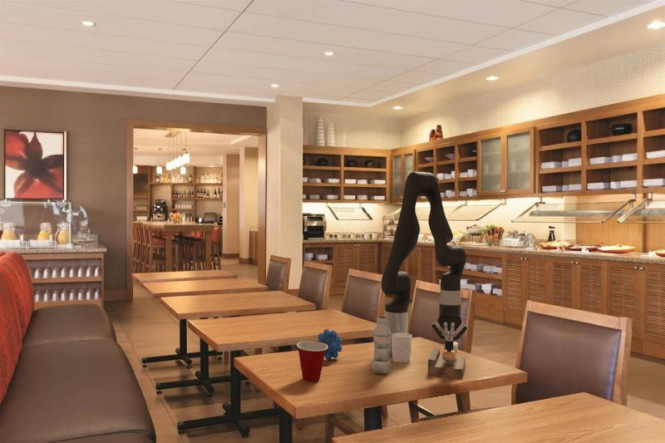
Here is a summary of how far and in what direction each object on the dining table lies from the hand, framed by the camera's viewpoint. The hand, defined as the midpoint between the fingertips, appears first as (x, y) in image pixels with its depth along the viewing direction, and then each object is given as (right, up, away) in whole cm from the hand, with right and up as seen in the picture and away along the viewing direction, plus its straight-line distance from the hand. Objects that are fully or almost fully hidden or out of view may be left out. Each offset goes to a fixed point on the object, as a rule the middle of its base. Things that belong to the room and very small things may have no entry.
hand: (449, 351), depth 206 cm
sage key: (+2, -4, +6) cm, 7 cm away
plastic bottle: (-24, -8, 0) cm, 26 cm away
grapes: (-42, -8, +16) cm, 46 cm away
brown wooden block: (+1, -8, +6) cm, 10 cm away
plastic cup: (-48, -8, -9) cm, 50 cm away
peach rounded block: (0, -5, 0) cm, 5 cm away
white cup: (-15, -8, +18) cm, 25 cm away
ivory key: (+3, -4, +12) cm, 13 cm away
